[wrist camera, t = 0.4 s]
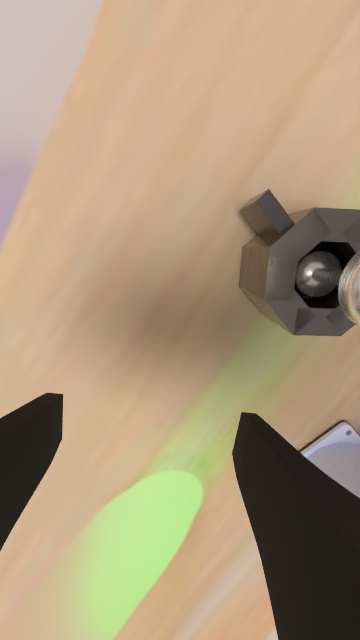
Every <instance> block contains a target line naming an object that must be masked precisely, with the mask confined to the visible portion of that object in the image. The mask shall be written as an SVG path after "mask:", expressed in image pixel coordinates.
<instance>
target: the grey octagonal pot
mask: <svg viewBox="0 0 360 640" xmlns="http://www.w3.org/2000/svg"><path fill="white" fill-rule="evenodd" d="M239 211H240V213H241V214H242V215H243V216H244V218H245V219H246V220H247V222H248V223H249V224H250V225H251V227H252V228H253V229H254V230H255V232H256V233H257V235H256V236H255V237H254V238H253V239H252V240H251V241H249V242H248V243H247V244H246V245H245V246H244V247H243V251H242V261H241V271H240V281H239V287H240V289H241V290H242V291H243V292H244V293H245V294H246V295H247V297H248V298H249V299H250V300H251V301H252V302H253V304H254V305H255V306H256V307H257V308H258V309H259V311H260V312H261V313H262V314H264V315H265V316H267V317H268V318H269V319H271V320H272V321H274V322H275V323H277V324H278V325H280V326H281V327H283V328H284V329H285V330H287V331H288V332H290V333H291V334H293V335H316V336H341V335H343V334H344V333H345V332H347V331H348V330H349V329H350V328H352V327H353V326H354V325H355V324H356V323H354V322H352V321H351V320H350V319H348V318H347V316H346V315H345V314H344V313H343V311H342V309H341V307H340V304H339V299H338V286H336V287H335V288H334V289H333V290H332V291H331V292H329V293H328V294H326V295H324V296H320V297H312V296H308V295H305V294H302V293H301V292H299V291H298V290H297V289H296V288H295V279H296V273H297V267H298V261H299V260H300V259H301V258H302V257H304V256H305V255H306V254H307V253H310V252H314V251H324V252H329V253H331V254H333V255H334V256H335V257H336V258H337V259H338V260H339V262H340V265H341V270H344V269H345V267H346V265H347V264H348V262H349V261H350V260H351V259H352V257H353V256H354V255H355V254H356V253H358V252H359V251H360V210H353V209H333V208H311V209H308V210H304V211H301V212H297V213H294V214H290V215H288V214H287V213H286V212H285V210H284V209H283V207H282V206H281V205H280V203H279V202H278V201H277V199H276V198H275V197H274V195H273V194H272V193H271V191H270V190H269V189H268V190H266V191H265V192H263V193H261V194H260V195H258V196H256V197H255V198H253V199H251V200H250V201H249V202H248V203H247V204H246V205H245V206H243V207H242V208H241V209H240V210H239Z"/></svg>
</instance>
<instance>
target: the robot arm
mask: <svg viewBox="0 0 360 640" xmlns="http://www.w3.org/2000/svg"><path fill="white" fill-rule="evenodd" d="M62 418H63V394H55V393H46V394H44V395H42V396H40V397H38V398H36V399H34V400H32V401H31V402H29V403H27V404H25V405H24V406H22V407H20V408H18V409H16V410H15V411H13V412H11V413H9V414H7V415H6V416H4V417H2V418H0V551H1V549H2V547H3V545H4V543H5V541H6V539H7V537H8V535H9V534H10V532H11V530H12V528H13V527H14V525H15V523H16V522H17V520H18V518H19V517H20V515H21V513H22V511H23V510H24V508H25V506H26V505H27V503H28V501H29V500H30V498H31V496H32V495H33V493H34V491H35V490H36V488H37V486H38V485H39V483H40V481H41V480H42V478H43V476H44V475H45V473H46V471H47V469H48V468H49V466H50V464H51V462H52V460H53V458H54V456H55V453H56V451H57V449H58V447H59V444H60V442H61V440H62ZM347 431H348V432H347ZM232 455H233V461H234V467H235V472H236V477H237V481H238V484H239V488H240V491H241V494H242V498H243V501H244V504H245V507H246V510H247V514H248V517H249V520H250V523H251V526H252V530H253V533H254V536H255V539H256V542H257V546H258V549H259V553H260V557H261V560H262V565H263V569H264V574H265V578H266V583H267V587H268V591H269V596H270V601H271V605H272V610H273V615H274V620H275V625H276V630H277V634H278V639H279V640H360V436H359V435H358V434H357V433H356V432H355V431H354V429H353V428H352V427H351V426H350V425H349V424H348V423H347V422H342V423H340V424H339V425H337V426H336V427H334V428H333V429H332V430H330V431H329V432H328V433H326V434H325V435H323V436H322V437H321V438H319V439H318V440H317V441H315V442H314V443H312V444H311V445H310V446H308V447H307V448H306V449H304V450H303V451H301V452H299V451H298V450H296V449H295V448H294V447H293V446H292V445H291V444H290V443H288V442H287V441H286V440H285V439H284V438H283V437H282V436H281V435H280V434H278V433H277V432H276V431H275V430H274V429H273V428H272V427H271V426H270V425H269V424H268V423H266V422H265V421H264V420H263V419H262V418H261V417H260V416H258V415H257V414H254V413H244V412H242V413H241V417H240V422H239V426H238V430H237V435H236V439H235V444H234V448H233V452H232Z"/></svg>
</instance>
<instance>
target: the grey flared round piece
mask: <svg viewBox="0 0 360 640" xmlns="http://www.w3.org/2000/svg"><path fill="white" fill-rule="evenodd" d="M336 286H338V299H339V304H340V307H341V309H342V311H343V313H344V314H345V315H346V316H347V318H348V319H350V320H351V321H352V322H354V323H356V324H358V325H360V251H359V252H358V253H356V254H355V255H354V256H353V257H352V259H351V260H350V261H349V262H348V264H347V265H346V267H345V269H344V270H341V265H340V262H339V260H338V259H337V258H336V257H335V256H334V255H333V254H331V253H329V252H324V251H314V252H310V253H307V254H306V255H305V256H304V257H302V258H301V259H300V260H299V261H298V267H297V273H296V279H295V288H296V289H297V290H298V291H299V292H301V293H302V294H305V295H308V296H312V297H320V296H324V295H326V294H328V293H329V292H331V291H332V290H333V289H334V288H335V287H336Z"/></svg>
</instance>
